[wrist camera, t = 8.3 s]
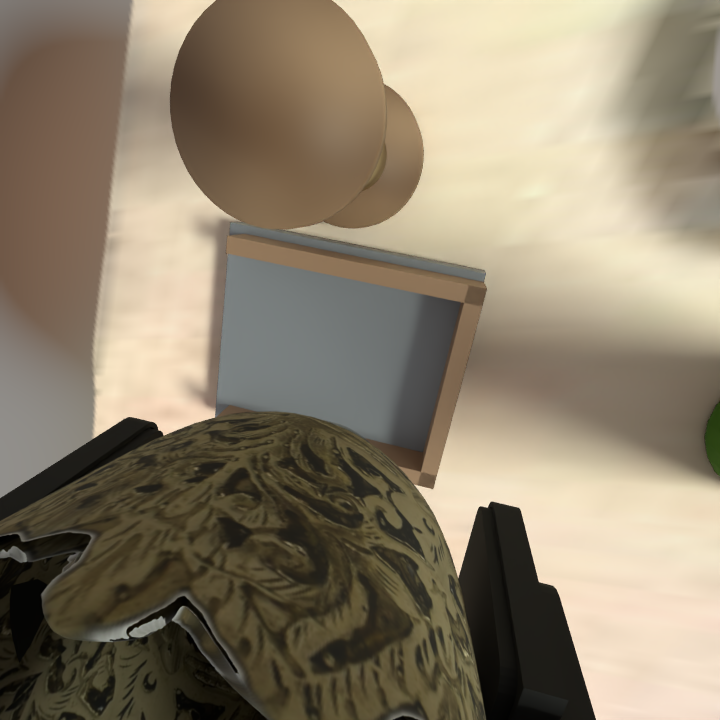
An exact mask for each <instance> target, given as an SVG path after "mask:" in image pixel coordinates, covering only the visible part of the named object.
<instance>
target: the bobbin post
mask: <svg viewBox="0 0 720 720" xmlns="http://www.w3.org/2000/svg"><path fill="white" fill-rule="evenodd" d="M170 113H171V121H172V128H173V132H174V137H175V141H176V144H177V147H178V150H179V153H180V155H181V158H182V160H183V162H184V164H185V166H186V168H187V170H188V172H189V174H190V175H191V177H192V178H193V180H194V182H195V183H196V184H197V186H198V187H199V188H200V189H201V191H202V192H203V193H204V194H205V195H206V196H207V197H208V198H209V199H210V200H211V201H212V202H213V203H214V204H215V205H216V206H218V207H219V208H220V209H221V210H223V211H224V212H225V213H227V214H229V215H231V216H232V217H234V218H236V219H238V220H240V221H242V222H245V223H247V224H250V225H253V226H257V227H261V228H267V229H293V228H299V227H306V226H310V225H314V224H317V223H320V222H322V221H324V222H327V223H329V224H331V225H334V226H338V227H343V228H363V227H368V226H372V225H375V224H379V223H381V222H383V221H385V220H387V219H389V218H390V217H392V216H393V215H395V214H396V213H397V212H398V211H400V210H401V209H402V208H403V206H404V205H405V204H406V203H407V202H408V200H409V199H410V198H411V196H412V195H413V193H414V191H415V189H416V187H417V185H418V182H419V180H420V176H421V172H422V167H423V156H424V150H423V141H422V137H421V132H420V130H419V127H418V124H417V121H416V119H415V117H414V115H413V113H412V111H411V109H410V108H409V106H408V105H407V104H406V102H405V101H404V100H403V99H402V98H401V97H400V96H399V94H397V93H396V92H395V91H394V90H392V89H391V88H390V87H388V86H386V85H385V84H384V83H383V79H382V75H381V72H380V69H379V67H378V64H377V61H376V59H375V57H374V55H373V53H372V51H371V49H370V47H369V45H368V43H367V41H366V39H365V37H364V36H363V34H362V32H361V31H360V30H359V28H358V27H357V25H356V24H355V22H354V21H353V20H352V19H351V18H350V17H349V16H348V15H347V13H346V12H345V11H344V10H343V9H342V8H341V7H339V6H338V5H337V4H336V3H334V2H333V1H332V0H216V1H215V2H214V3H213V4H212V5H211V6H209V7H208V8H207V9H206V10H205V11H204V12H203V13H202V15H201V16H200V17H199V18H198V19H197V20H196V22H195V23H194V24H193V26H192V28H191V29H190V31H189V32H188V34H187V36H186V38H185V40H184V42H183V44H182V46H181V48H180V50H179V54H178V57H177V60H176V63H175V66H174V71H173V76H172V81H171V92H170Z"/></svg>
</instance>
